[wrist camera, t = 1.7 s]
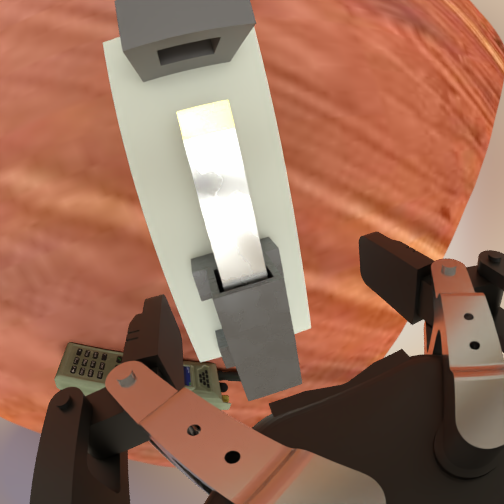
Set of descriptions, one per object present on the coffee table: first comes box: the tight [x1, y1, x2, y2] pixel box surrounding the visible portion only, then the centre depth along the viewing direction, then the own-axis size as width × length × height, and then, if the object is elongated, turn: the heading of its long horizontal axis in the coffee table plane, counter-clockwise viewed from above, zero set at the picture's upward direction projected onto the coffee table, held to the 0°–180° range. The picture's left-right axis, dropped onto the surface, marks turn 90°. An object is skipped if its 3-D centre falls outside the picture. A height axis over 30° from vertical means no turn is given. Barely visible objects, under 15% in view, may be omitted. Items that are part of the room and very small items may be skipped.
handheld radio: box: [55, 342, 241, 410], centre depth 32 cm, size 7×3×25 cm
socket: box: [115, 0, 256, 82], centre depth 17 cm, size 8×4×10 cm, turn 103°
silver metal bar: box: [177, 100, 268, 292], centre depth 24 cm, size 3×24×3 cm, turn 13°
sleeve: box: [191, 237, 302, 401], centre depth 28 cm, size 8×12×9 cm, turn 13°
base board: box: [103, 27, 311, 363], centre depth 28 cm, size 14×36×2 cm, turn 13°
